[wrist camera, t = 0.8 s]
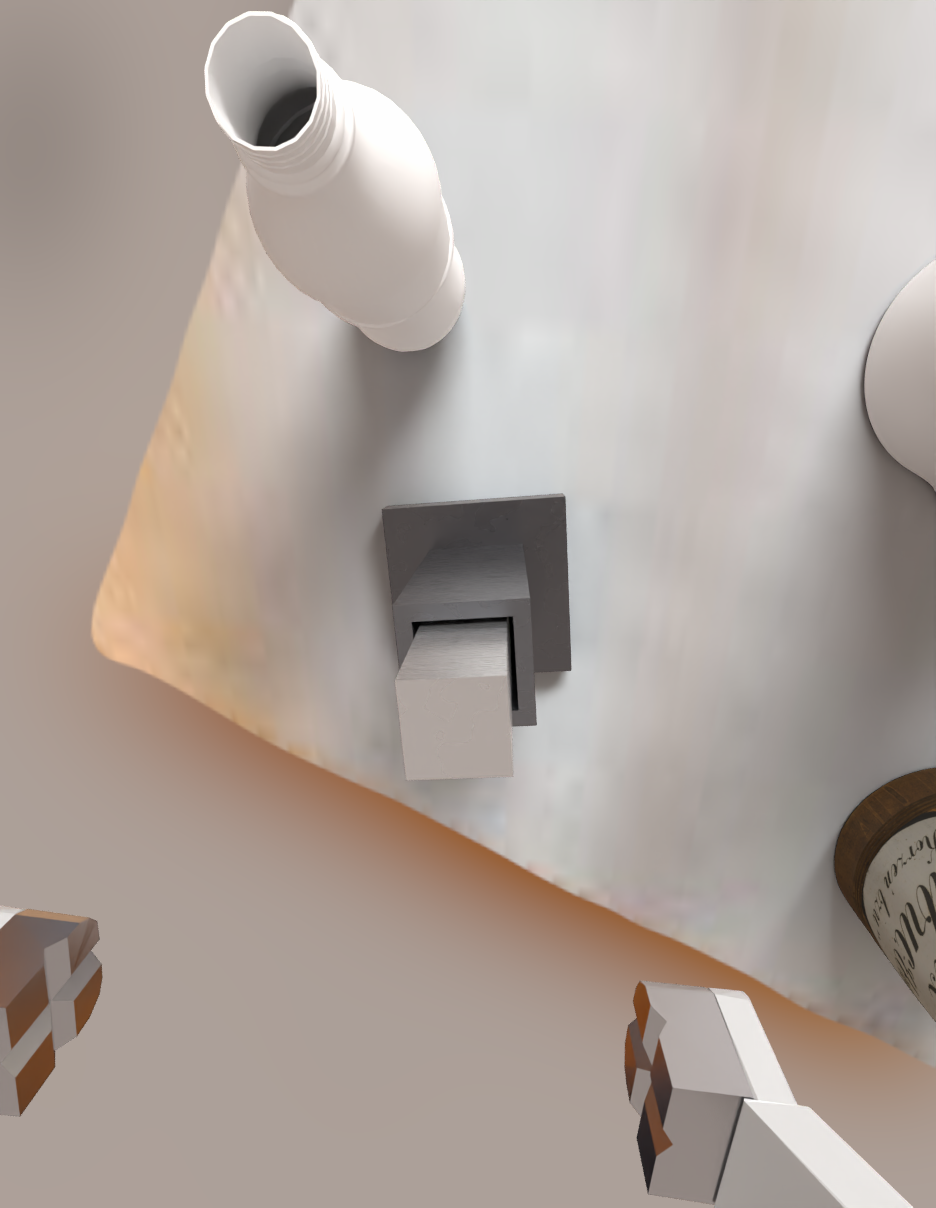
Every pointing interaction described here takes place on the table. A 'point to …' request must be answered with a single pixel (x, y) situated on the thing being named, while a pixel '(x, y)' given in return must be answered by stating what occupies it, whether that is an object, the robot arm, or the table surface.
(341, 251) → the water bottle
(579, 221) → the table surface
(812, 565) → the table surface
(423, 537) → the stand
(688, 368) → the table surface
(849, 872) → the wooden container
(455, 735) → the column
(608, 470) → the table surface
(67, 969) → the robot arm
